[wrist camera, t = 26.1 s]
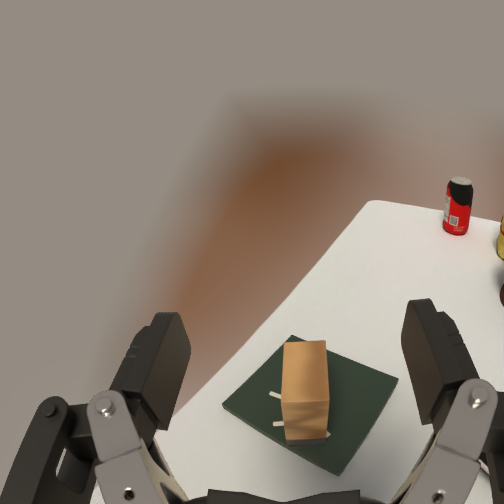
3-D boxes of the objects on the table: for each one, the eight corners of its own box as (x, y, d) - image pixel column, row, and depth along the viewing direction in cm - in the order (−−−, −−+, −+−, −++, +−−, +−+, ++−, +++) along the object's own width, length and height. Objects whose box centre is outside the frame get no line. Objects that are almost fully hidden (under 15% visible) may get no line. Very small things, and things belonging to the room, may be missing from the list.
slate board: (223, 408, 35) (221, 403, 34) (292, 339, 43) (291, 334, 43) (338, 476, 25) (339, 473, 24) (397, 383, 34) (399, 378, 33)
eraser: (286, 445, 28) (280, 402, 24) (289, 393, 34) (283, 342, 30) (325, 444, 28) (329, 400, 23) (323, 391, 34) (325, 339, 29)
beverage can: (463, 239, 58) (471, 187, 52) (438, 231, 62) (444, 180, 56) (469, 228, 61) (476, 179, 55) (446, 221, 65) (451, 173, 60)
